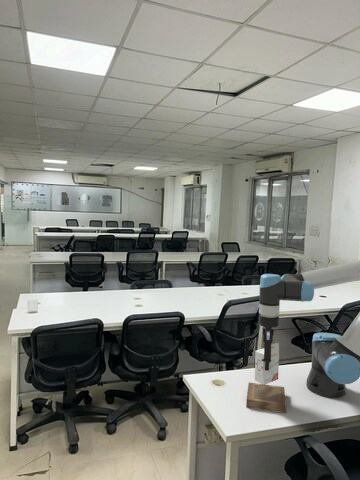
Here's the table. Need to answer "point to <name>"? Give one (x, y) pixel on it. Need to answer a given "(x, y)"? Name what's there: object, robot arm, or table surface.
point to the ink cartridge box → (274, 365)
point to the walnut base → (266, 397)
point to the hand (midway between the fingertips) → (266, 372)
